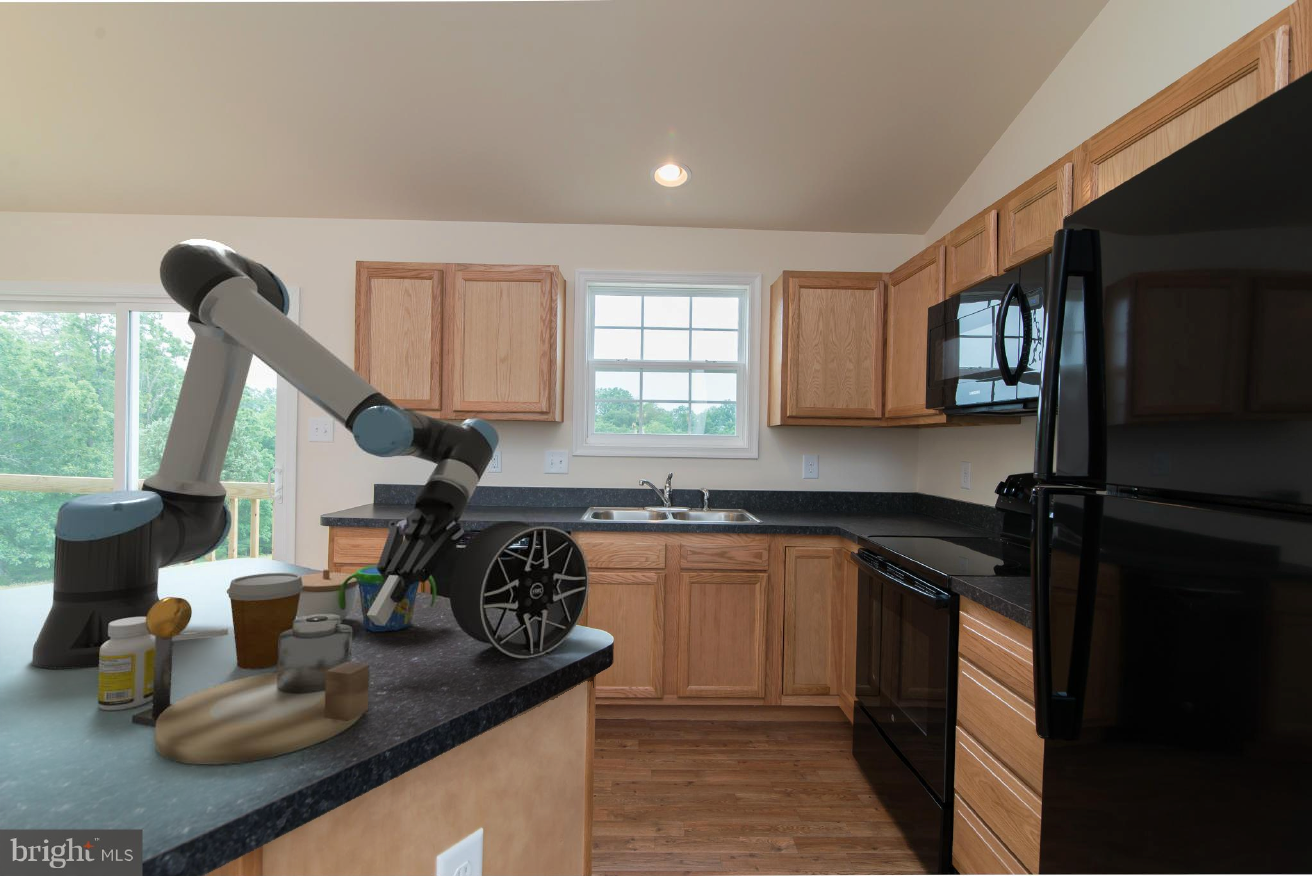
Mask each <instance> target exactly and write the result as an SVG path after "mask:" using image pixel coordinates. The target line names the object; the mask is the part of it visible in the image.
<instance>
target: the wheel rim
mask: <svg viewBox="0 0 1312 876" xmlns="http://www.w3.org/2000/svg"><path fill="white" fill-rule="evenodd" d="M524 539H528V544H527V547H526V550H525V551H524V552H525V553H524V555H521V554H518V553H516V552H514V551H512V550H510V549H508V548H511V546H513V545H514V544H515V543H517V542H519V541H522V540H524ZM536 542H539V545H540V546H539V547H540V549H539V558H538V559H536V560H532V559H533V556H534V552H535V548H536ZM504 553H505V554H508V555H510V556H513V557H515V558H517V559H520V560H521V561H520V562H519V564H518V566H517V567H516V571H517V572H519V575H516V574H511V575H510V576H508V575H507V573H506V570H505V567H504V565H503V563H502V561H501V558H500V557H501V556H502V555H503V554H504ZM549 562H550V563H549ZM496 563H497V566H498V568H499V571H500V573H501V576H502V578H503V580H504V581H502V582H501V583H500V584H498V585H496V586H494V587H491V588H487V586H488V581H489V578H490V575H491V573H492V570H493V568H494V567H495V565H496ZM550 566H551V568H549V567H550ZM589 577H590V576H589V568H588V563H587V558H586V556H585V554H584V552H583V549H582V547H581V546H580V545H579V543H578V542H577V540H575V538H574V537H573V536H571V535H570V534H569V533H567V531H565V530H564V529H563V530H562V529H561V528H558V527H555V526H549V525H543V524H542V525H539V524H538V525H531V524H528V523H526V522H522V521H516V520H506V521H500V522H497V523H493V524H491V525H488V527H485V528H483V529H482V530H480V532H478V533H476V534H475V535H474V536H473V537H472V538H471V539H470V540H469V542H467V543H466V545H465V546H464V547H463V549H462V550H461V552H460V553H459V556H458V557H457V559H456V561H455V564H454V566H453V569H452V573H451V577H450V581H449V582H450V583H449V596H448V597H449V601H450V602H449V603H450V608H451V611H452V615H453V617H454V619H455V621H456V623H457V625H458V626H459V628H461V630H462V631H463V633H464V634H466V635H467V636H468V637H470V638H472V639H474V640H475V641H478V642H481V643H484V644H489V645H491V646H492V647H493V648H494V649H496V650H498V652H501V653H502V654H505V655H507V656H509V657H513V658H515V659H524V658H525V659H529V658H528V657H531V656H535V655H539V654H541V653H546V652H548V653H549V652H551V651H553V650H554V649H556V648H557V647H558V646H559V645H561V644H562V643H563V642H564V641H565V640H566V639H567V638H568V636H570V634H572V632H573V631H574V629H575V627H576V626H577V625H578V622H579V621H580V619H581V617H582V614H583V611H584V609H585V606H586V602H587V598H588V594H589V588H590V579H589ZM506 590H507V592H508V595H507V596H508V597H507V600H506V601H495V602H486V596H487V597H488V596H491V595H495V594H500V593H502V592H504V591H506ZM487 609H501V610H502V613H501V615H500V617H499V619H498V622H497V624H496V626H495V628H494V627H493V625H492V624H491V622H490V619H489V617H488V615H487V611H486V610H487ZM508 611H511V612H515V617H516V619H517V621H518V623H519V626H517V627H516V628H515V629H513V630H511V632H509V633H504V634H499V633H500V630H501V628H502V625H503V623H504V621H505V619H506V616H507V615H508ZM529 615H530V616H529ZM546 654H547V653H546Z"/></svg>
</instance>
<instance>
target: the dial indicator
mask: <svg viewBox="0 0 1312 876" xmlns="http://www.w3.org/2000/svg"><path fill="white" fill-rule="evenodd" d="M192 609H193V608H192V606H191V604H190V602H189V601H188V600H187V599H185V598H181V597H174V596H168V597H164V598H161V599H159V601H158V602H156V603H155V604H154V605H153V606H152V607H151V609H150V610H149V612H148V614H147V617H146V628H147V630H148V632H149V633H150V634H151V635H153V636H155V658H154V680H153V700H152V701H151V703H152V704H151V705H152V706H151V708H148V709H145V710H142V711H140V712H137V713H135V714H132V715H131V723H133V724H138V725H143V726H148V727H153V728H156V721H157V719H158V717H159V716H160V714H161V713H162V712H163V711H164V710H166V709H167V708H168V707H170V706H171V705H172V704H173V703H171V699H172V698H171V695H172V676H173V675H172V673H173V650H174V642H176V641H183V640H184V641H185V640H192V639H193V640H194V639H202V638H209V637H211V638H212V637H218V636H226V635H227V636H228V635H229V628H219V629H212V630H211V629H210V630H201V631H195V632H194V631H193V632H183V631H184V630H185V629H186V628H187V626H188V625H189V624H190V621H191V619H192V614H193V612H192V611H193V610H192ZM182 632H183V633H182Z"/></svg>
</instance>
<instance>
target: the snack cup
mask: <svg viewBox="0 0 1312 876" xmlns="http://www.w3.org/2000/svg"><path fill="white" fill-rule="evenodd" d="M377 566H378V564H377V565H376V564H375V565H371V566H364V567H362V568H359V569H357V570H356V571H355V572H354V573H351V574H352V575H350V576H349V577H348V578H347V579H346V580H345V581H344V583H343V584H342V586H341V589H340V594H339V605H340V608H341V609H342V610H344V609H345V608H346V598H345V588H346V585H347V583H348V581H349V580H351V579H352V578H356V579H357V581H358V583H359V584H358V590H359V596H360V597H359V599H360V604H361V612H362V618H363V621H362V622H363V626H364V628H365V629H366V630H368V631H371V632H374V633H375V632H387V631H398V630H403V629H405V628H407V627H409V626H411V624H412V619H413V615H414V613H413V612H414V608H415V604H416V599H417V598H416V597H417V593H418V591H419V590H418V589H419V586H420V583H421V582H420V581H418V582H415V583H414V584H413V585H411V586H410V588H409V590H408V591H407V593H406V595H405V597H404V599H403V600H402V601H401V602H400V603H397V604H396V606H395V608H394V610H393V612H392V613H391V615H390V617H389V619H388V621H387V623H386V624H385V626H382V625H375V624H374V622H373V621H372V620H371V619H370V618H369V617H368V616H367V613H368V611H369V610H370V608H371V606H372V605H373V603H374V601H375V599H376V598H377V597H376V596H375V594H376V591H377V589H378V588H379V586H380V584H381V583H382V581H383V579H384V578H383V576H382V575H381V574H380V573H379V572H378V570H377ZM427 581H428V582H429V584H430V586H431V587H432V595H431V596H432V597H431V602H430V607H431V608H432V607H433V606H434V604H435V601H436V598H437V585H436V582H435V579H434V578H433V576H432V575H431V576H430V577H429V578H428V579H427Z"/></svg>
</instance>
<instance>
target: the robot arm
mask: <svg viewBox="0 0 1312 876" xmlns="http://www.w3.org/2000/svg"><path fill="white" fill-rule="evenodd" d="M159 278H160V282H161V285H162V287H163V288H164V291H165V292H166V293H167V295H168V296H169V297H170V298H171V299H172V300H173V301H175V303H176V304H178V305H180V306H181V307H182V308H184V309H185V311H187V312H189V315H188V319H187V325H188V326H189V328H190V330H191V331H192V332H193V333H194V340H193V343H192V347H191V351H190V355H189V359H188V362H187V366H186V369H185V374H184V377H183V379H182V380H183V381H182V384H181V388H180V391H179V394H178V398H177V402H176V405H175V409H174V414H173V416H172V419H171V424H170V426H169V432H168V435H167V439H166V442H165V446H164V449H163V453H162V457H161V461H160V465H159V468H158V471H157V472H156V473H154V474H153V475H151V476H149V477H147V478H145V479H144V480H143V482H142V487H141V490H119V491H110V492H98V493H92V494H86V495H81V496H76V497H74V498H70V499H69V500H66V501H65V502H64V503H62V504H61V506H60V507H59V509H58V511H57V518H56V524H55V525H54V530H53V531H54V535H55V539H54V542H55V543H54V564H53V565H54V567H53V588H52V589H53V593H52V604H51V608H50V610H49V612H48V614H47V617H46V619H45V620H44V623H43V625H42V627H41V630H40V632H39V634H38V637H37V638H36V641H35V643H34V645H33V648H32V658H31V661H32V663H31V664H33V665H34V666H35V667H38V668H45V669H78V668H88V667H95V666H99V653H100V648H101V646H102V645H103V644H104V643H105V642H107V641H108V640H110V639H111V637H109V636H108V625H109V623H110V622H113V621H116V620H120V619H124V618H131V617H147V614H148V612H149V610H150V609H151V607H152V606H153V605H154V604H155V603H156V602H158V601H159V600H160V597H159V593H158V592H159V590H158V588H159V587H158V586H159V569H162V568H166V567H171V566H173V565H178V564H184V563H191V562H192V561H195V560H196V561H197V560H198V559H200V558H202V557H205V556H207V555H209V554H210V553H212V552H214V551H216V549H218V548H219V547H221V545H223V543H224V542H225V540H226V539H227V537H228V536H229V533H230V531H231V527H232V514H231V511H230V510H229V509H228V505H227V504H226V503H225V502H226V501H225V499H226V497H227V492H228V491H227V489H226V488H225V487H224V485H222V483H221V482H220V480H221V475H222V471H223V468H224V464H225V460H226V456H227V453H228V450H229V445H230V443H231V442H230V441H231V440H232V439H231V438H232V436H233V435H232V434H233V432H234V427H235V423H236V420H237V416H238V412H239V409H240V406H241V405H240V404H241V400H242V397H243V393H244V390H245V386H246V382H247V378H248V375H249V371H250V369H251V365H252V361H253V360H252V359H253V357H254V356H255V357H256V358H258V359H259V360H260V361H261V362H263V364H265V365H266V366H268V368H270V369H271V370H272V371H274V372H275V373H276V374H277V375H279V376H280V377H281V378H283V379H284V380H285V381H286V382H288V383H289V384H290V385H291V386H292V387H294V389H297V390H298V392H300V393H301V394H303V395H304V396H305V397H306V398H307V399H308V400H309V401H311V402H313V403H314V405H316V406H318V407H319V409H321V410H323V411H324V412H325V413H327V414H328V415H329V416H330V417H331V418H332V419H334V420H335V421H336V422H338V423H339V424H340V425H341V426H342V427H344V428H345V429H346V430H347V431H349V433H351V434H352V436H353V438H354V441H355V442H356V445H357V446H358V447H359V448H360V449H361V450H362V451H363V452H366V453H367V454H369V455H373V456H376V457H379V458H392V457H415V458H417V459H421V460H423V461H428V462H430V463H433V464H436V466H435V468H434V469H433V471H432V472H431V474H430V475H429V478H428V479H427V481H426V483H425V484H424V485H423V488H421V491H420V492H419V494H418V495H417V497H416V500H415V504H414V508H413V510H412V511H410V513H408V514H407V516H406V518H405V519H403V520H400V521H397V520H396V519H391V520H390V521H389V522H388V535H387V537H386V540H385V543H384V546H383V549H382V552H381V555H380V558H379V560H378V564H377V565H378V566H377V570H378V572H379V573H380V574H381V575H382V576H383V578H384V579H383V581H382V583H381V584H380V586H379V588H378V589H377V591H376V594H375V596H376V597H377V598H376V599H375V601H374V603H373V605H372V606H371V608H370V610H369V611H368V613H367V616H368V617H369V618H370V619H371V620H372V621H373V622H374V624H375V625H382V626H385V624H386V623H387V621H388V619H389V617H390V615H391V613H392V612H393V610H394V608H395V606H396V604H397V603H400V602H401V601H402V600H403V599H404V597H405V595H406V593H407V591H408V590H409V588H410V586H411V585H413V584H414V583H415V582H418V581H420V583H425V582H427V581H428V578H429V577H430V576H432V574H433V573H434V572H435V571H436V570H437V568H438V567H439V566H440V564H441V563H442V561H443V560H444V559H445V558H446V556H447V555H448V554H449V553H450V552H451V550H452V549H453V548H454V547H455V545H456V544H458V543H459V542H461V540H462V539H464V538H465V537H466V535H467V534H466V532H465V531H464V529H463V527H462V525H461V524H460V523H459V521H460V519H461V517H462V515H463V514H464V511H465V509H466V508H467V505H468V502H469V501H470V500H471V497H472V496H473V494H474V492H475V490H476V488H477V486H478V485H479V482H480V480H481V479H482V476H483V475H484V473H485V471H486V469H487V467H488V466H489V464H490V462H491V461H492V460H493V456H494V453H495V451H496V449H497V446H498V444H499V442H500V440H499V439H500V438H499V433H498V431H497V429H496V428H495V427H494V426H493V425H492V424H491V423H489V422H488V421H487V420H484V419H481V418H477V417H475V418H467V419H465V420H464V421H463V422H462V423H461V424H460V425H456V424H453V423H449V422H445V421H442V420H439V419H436V418H434V417H431V416H429V415H426V414H423V413H420V412H417V411H414V410H412V409H409V408H406V407H405V408H403V407H401V406H398V405H396V404H395V403H394V402H393V401H392V400H391V399H389V398H387V396H386V395H383V393H381V391H380V390H378V389H377V388H376V387H375V386H373V385H372V384H371V383H369V382H368V381H367V380H366V379H364V378H363V377H362V376H361V375H360V374H358V373H357V372H356V371H354V370H353V369H352V368H351V367H350V366H348V365H347V364H346V363H345V362H344V361H342V360H341V359H340V358H338V357H337V356H336V355H335V354H334V353H332V352H331V351H330V350H329V349H327V347H325V346H324V345H323V344H322V343H320V342H319V341H318V340H316V339H315V338H314V337H312V335H310V334H309V333H308V332H307V331H305V329H303V328H301V327H300V326H299V325H298V324H297V323H296V322H294V321H293V320H292V319H290V318H289V317H288V314H289V311H290V306H291V303H290V301H291V300H290V295H289V292H288V289H287V287H286V285H285V284H284V282H283V281H282V279H280V277H278V275H276V274H275V273H273V271H271V270H270V269H269V268H268V267H266V266H265V265H263V264H262V263H259V262H256V261H255V260H252V259H250V258H248V257H247V256H244V254H243V255H242V254H241V253H238V252H236V251H234V249H232V248H231V247H229V246H225V245H224V244H222V243H221V242H217V241H213V240H207V239H202V238H200V239H199V238H198V239H189V240H185V241H182V242H179V243H177V244H174V246H172V247H171V248H170V249H168V250H167V252H166V253H165V254H164V255H163V258H162V260H161V261H160V266H159ZM149 634H150V633H149ZM150 635H151V634H150Z"/></svg>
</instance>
